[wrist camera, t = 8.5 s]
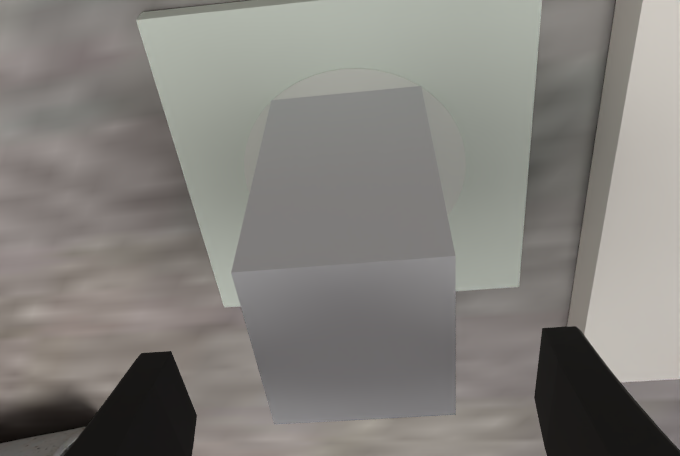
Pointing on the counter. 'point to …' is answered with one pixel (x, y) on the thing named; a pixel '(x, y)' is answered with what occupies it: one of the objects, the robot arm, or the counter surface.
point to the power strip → (635, 201)
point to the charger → (349, 261)
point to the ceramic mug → (41, 444)
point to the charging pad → (346, 77)
